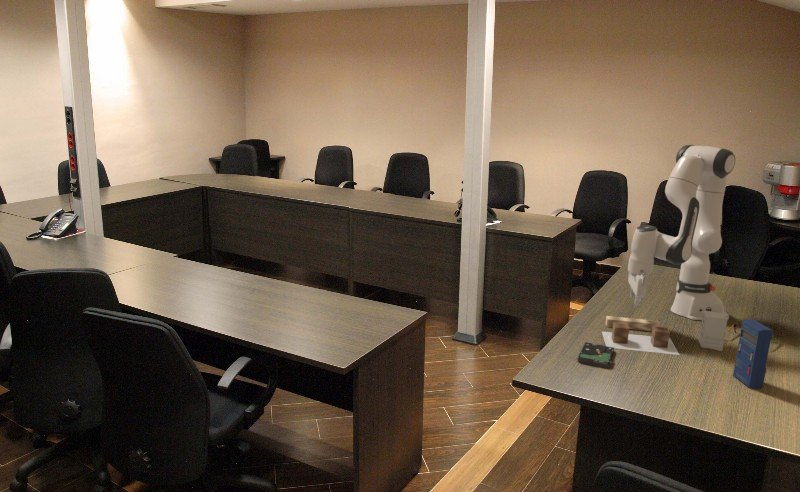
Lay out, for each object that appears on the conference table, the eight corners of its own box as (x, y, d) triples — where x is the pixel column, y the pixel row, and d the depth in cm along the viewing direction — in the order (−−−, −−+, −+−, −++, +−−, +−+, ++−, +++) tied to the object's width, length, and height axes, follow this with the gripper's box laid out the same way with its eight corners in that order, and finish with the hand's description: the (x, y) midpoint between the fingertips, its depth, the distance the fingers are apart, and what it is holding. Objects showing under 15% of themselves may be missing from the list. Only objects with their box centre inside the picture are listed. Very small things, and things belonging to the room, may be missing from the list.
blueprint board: (669, 339, 240) (670, 338, 240) (679, 356, 225) (679, 354, 224) (601, 332, 244) (601, 331, 244) (606, 348, 229) (606, 347, 229)
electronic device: (731, 375, 210) (741, 319, 206) (745, 375, 211) (756, 319, 206) (748, 388, 201) (759, 330, 196) (764, 388, 202) (775, 330, 197)
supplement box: (719, 344, 237) (724, 312, 234) (722, 352, 230) (727, 319, 227) (698, 341, 239) (703, 309, 236) (700, 348, 232) (705, 316, 229)
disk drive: (583, 349, 230) (577, 363, 217) (584, 341, 230) (578, 356, 216) (613, 354, 226) (608, 369, 213) (614, 347, 225) (609, 362, 212)
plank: (657, 330, 250) (659, 320, 249) (659, 334, 246) (661, 324, 245) (605, 325, 254) (606, 315, 253) (606, 328, 250) (607, 319, 249)
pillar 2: (664, 342, 235) (666, 327, 233) (667, 348, 230) (669, 332, 229) (650, 341, 236) (652, 326, 234) (653, 346, 231) (655, 331, 230)
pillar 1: (625, 338, 238) (627, 323, 236) (627, 343, 233) (629, 328, 231) (611, 337, 238) (613, 322, 237) (613, 342, 234) (615, 327, 232)
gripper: (653, 275, 233) (647, 311, 236) (644, 261, 252) (638, 294, 256) (636, 273, 234) (630, 309, 237) (627, 259, 253) (622, 292, 257)
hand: (634, 301), depth 247 cm, fingers open, 8 cm apart
